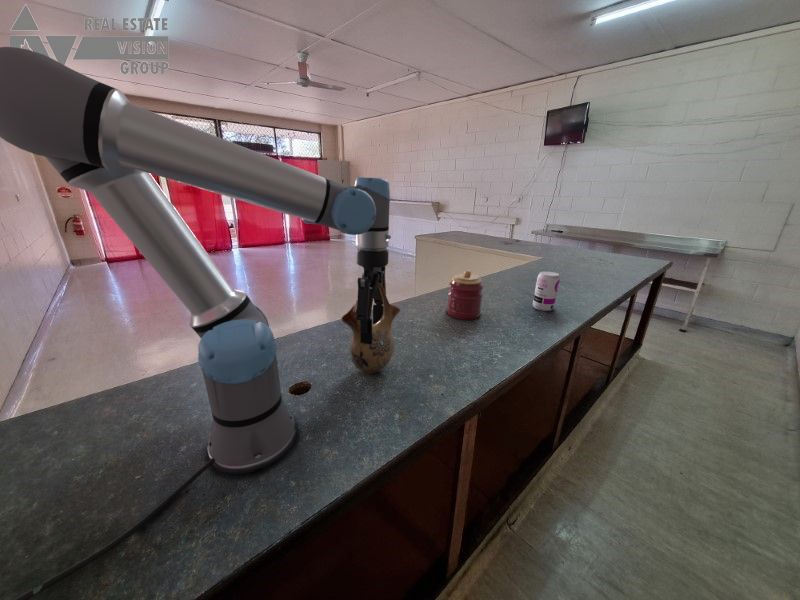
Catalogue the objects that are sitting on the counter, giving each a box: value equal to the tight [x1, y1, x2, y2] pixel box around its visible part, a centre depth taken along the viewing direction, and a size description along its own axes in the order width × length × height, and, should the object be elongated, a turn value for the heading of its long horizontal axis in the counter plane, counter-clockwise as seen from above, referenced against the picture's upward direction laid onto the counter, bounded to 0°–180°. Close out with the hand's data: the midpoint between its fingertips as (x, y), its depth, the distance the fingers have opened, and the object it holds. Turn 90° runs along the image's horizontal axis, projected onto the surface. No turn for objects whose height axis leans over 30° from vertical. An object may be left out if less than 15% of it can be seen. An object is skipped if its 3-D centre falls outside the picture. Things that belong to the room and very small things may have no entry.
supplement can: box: [532, 270, 561, 312], centre depth 130 cm, size 8×8×15 cm
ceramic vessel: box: [341, 282, 401, 374], centre depth 81 cm, size 16×9×25 cm, turn 123°
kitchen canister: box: [446, 269, 484, 321], centre depth 121 cm, size 13×13×18 cm
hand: (372, 334), depth 82 cm, fingers closed on ceramic vessel, 8 cm apart
